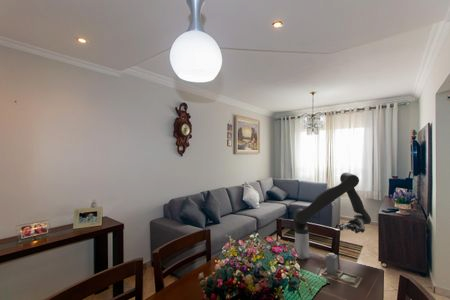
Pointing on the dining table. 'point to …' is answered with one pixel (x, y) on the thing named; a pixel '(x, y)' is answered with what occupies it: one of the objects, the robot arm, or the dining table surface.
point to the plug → (332, 264)
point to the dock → (343, 278)
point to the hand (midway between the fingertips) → (348, 230)
